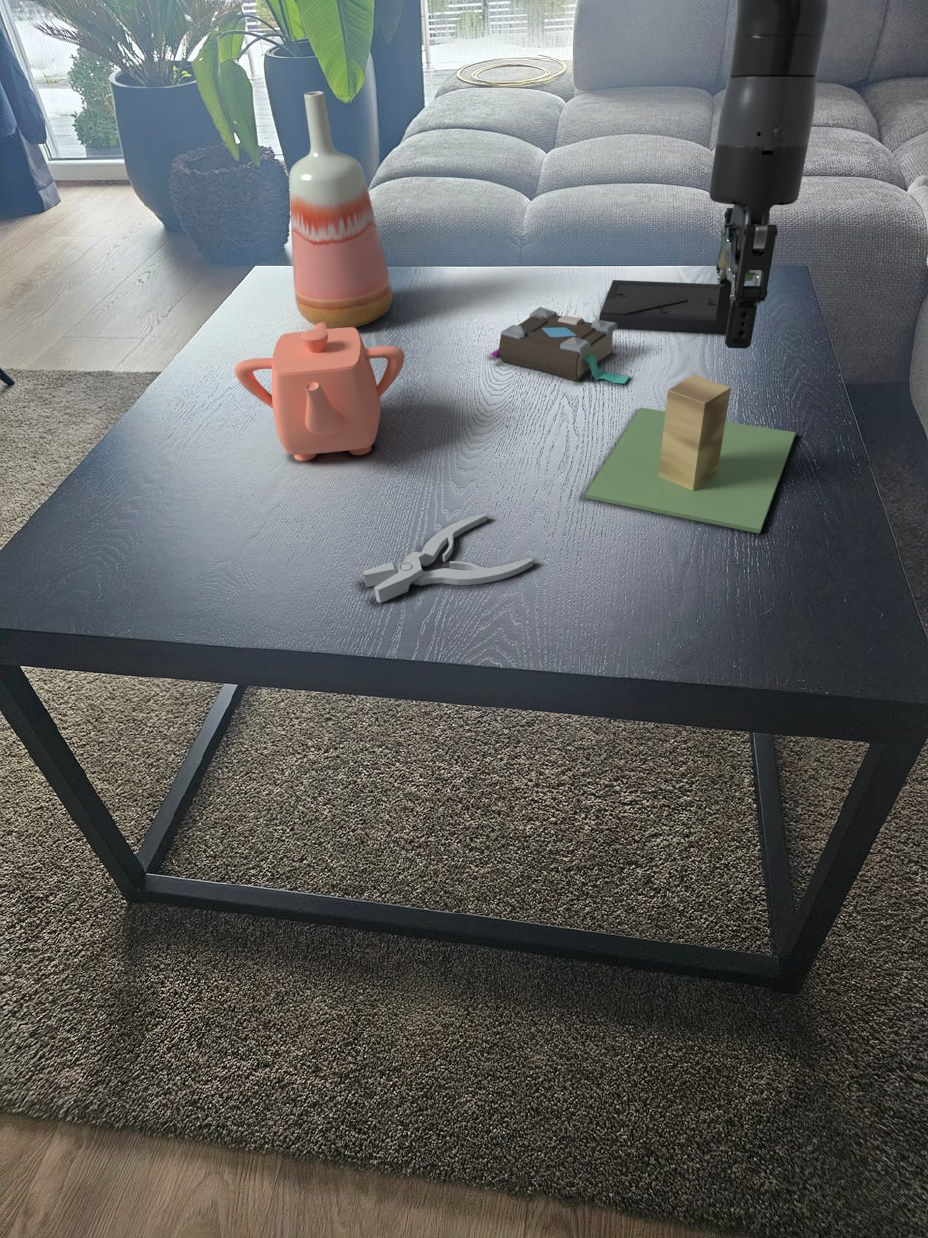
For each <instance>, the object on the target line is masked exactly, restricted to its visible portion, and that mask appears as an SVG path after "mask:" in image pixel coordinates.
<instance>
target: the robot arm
mask: <svg viewBox="0 0 928 1238" xmlns="http://www.w3.org/2000/svg"><path fill="white" fill-rule="evenodd" d="M735 9H736V10H735V24H734V32H733V41H732V48H731V55H730V63H729V70H728V78H727V81H726V87H725V91H724V95H723V98H722V102H721V108H720V112H719V118H718V119H719V120H718V127H717V135H716V140H715V141H716V142H715V150H714V157H713V163H712V171H711V177H710V186H709V192H708V193H709V199H710V200H711V201H712V202H715V203H719V204H723V205H732V206H733V207H726V210H725V212H724V215H723V217H724V221H723V225H722V229H721V242H720V248H719V252H718V260H717V264H716V267H715V271H716V274H717V277H716V280H717V284H723V286H719V291H718V298H717V305H716V312H715V319H714V322H715V324H716V325H717V326H719V327H727V330H726V334H725V337H724V344H725V346H726V347H727V348H728V349H748V348H749V347H750V346H751V344H752V340H753V334H754V328H755V322H756V317H757V311H758V306H760V305H761V303H762V302H765V301H766V299H767V297H768V286H769V281H770V274H771V268H772V262H773V256H774V250H775V244H776V238H777V236H778V233H779V230H778V226H777V224H770V218H771V217H770V216H771V214H770V213H771V212H770V211H771V209H772V208H773V207H774V206H787V205H791V204H795V203H796V201H797V200H798V199H799V196H800V191H801V186H802V179H803V175H804V170H805V164H806V159H807V153H808V147H809V143H810V136H811V132H812V131H811V130H812V126H813V120H814V115H815V107H816V92H817V82H818V78H817V77H818V75H819V70H820V64H821V59H822V53H823V49H824V43H825V37H826V31H827V26H828V19H829V15H830V14H829V13H830V1H829V0H736V7H735ZM746 282H753V285H745V284H746Z"/></svg>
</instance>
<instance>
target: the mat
mask: <svg viewBox="0 0 928 1238" xmlns="http://www.w3.org/2000/svg"><path fill="white" fill-rule="evenodd" d="M665 412H666V410H659V409H653V408H647V407H640V408H639V410H638V411H637V413H636V414H635V416H634V417H633V419H632V420H631V422H630V424H629V425H628V427H627V428H626V430H625V432H624V433H623V434H622V436H621V438H620V439H619V441H618V442H617V444H616V446H615V447H614V449H613V450H612V452H611V453H610V455H609V456H608V458H607V460H606V461H605V462H604V465H603V466H602V467H601V469H600V471H599V472H598V474H597V475H596V476H595V478H594V480H593V482H592V483H591V485H590V486H589V488H588V490H587V491H586V492H585V496H584V497H585V499H587V500H592V501H597V502H603V503H607V504H611V505H618V506H622V507H627V508H632V509H637V510H642V511H645V512H651V513H656V514H662V515H666V516H671V517H675V518H681V519H685V520H691V521H694V522H695V521H696V522H701V523H704V524H711V525H715V526H720V527H725V528H730V529H734V530H739V531H744V532H749V533H753V534H759V535H760V534H761V532H762V530H763V527H764V524H765V521H766V518H767V516H768V514H769V510H770V507H771V505H772V502H773V499H774V497H775V494H776V491H777V488H778V485H779V483H780V480H781V476H782V474H783V472H784V468H785V465H786V463H787V460H788V457H789V454H790V452H791V449H792V446H793V444H794V441H795V438H796V434H797V433H796V432H795V431H789V430H784V429H777V428H771V427H766V426H765V427H764V426H758V425H753V424H745V423H741V422H733V421H727V420H726V421H725V428H724V434H723V440H722V446H721V452H720V459H719V465H718V471H717V474H716V475H715V476H714V477H712V478H711V479H709V480H708V481H706V482H705V483H704V484H702V485H701V486H699V487H698V488H696V489H695V490H694V491H692V490H689V489H687V488H685V487H682V486H680V485H678V484H675V483H673V482H671V481H668V480H666V479H664V478H662V477H659V467H660V458H661V449H662V439H663V430H664V421H665Z"/></svg>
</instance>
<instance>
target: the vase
mask: <svg viewBox="0 0 928 1238" xmlns="http://www.w3.org/2000/svg"><path fill="white" fill-rule="evenodd" d="M303 97H304V104H305V113H306V119H307V126H308V135H309V142H310V149H309V153H308V154H307V155H306V156H304V157H302V158H301V159H299V160H298V161H296V162H295V163H294V164H293V165H292V166H291V169H290V171H289V176H288V188H289V210H290V211H289V212H290V213H289V214H290V233H291V251H292V252H291V253H292V254H291V255H292V274H293V275H292V276H293V291H294V300H295V304H296V307H297V310H298V312H299V314H300V315H301V316H302V318H304V319H305V320H306V321H308V322H309V323H310V324H312V325H314V326H315V325H316V324H318V323H326V324H328V325H329V328H330V329H333V328H347V327H353V328H355V329H356V328H359V327H362V326H363V327H364V326H366V325H369V324H371V323H373V322H375V321H377V320H378V319H380V318H381V317H382V316H383V315H385V313H387V311H388V310H389V308H390V307H391V304H392V301H393V288H392V283H391V277H390V273H389V269H388V265H387V260H386V256H385V253H384V249H383V244H382V240H381V236H380V233H379V229H378V225H377V221H376V217H375V212H374V209H373V205H372V200H371V197H370V191H369V188H368V185H367V184H368V183H367V180H366V176H365V172H364V169H363V167H362V165H361V163H360V162H359V161H358V160H357V159H356V158H355V157H352V156H351V155H348V154H345V153H344V152H339V151H338V150H337V149H336V148H335V146H334V144H333V139H332V133H331V126H330V120H329V114H328V108H327V102H326V96H325V92H324V91H319V90H315V91H309V92H305V93H304V95H303Z"/></svg>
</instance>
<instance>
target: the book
mask: <svg viewBox="0 0 928 1238" xmlns="http://www.w3.org/2000/svg"><path fill="white" fill-rule="evenodd" d="M616 330H617V323H615V322H608V321H601V320H599V319H596V320H592V322H588V321H585V320H584V318H583V317H576V316H571V315H570V316H569V315H565V314H564V315H558V312H557V311H554V310H552V309H548V308H545V307H542V306H539V307H537V308H536V309H535V310H533V311H532V312H530V313H529V317H528V318H526V319H525V320H523V321H522V322H521V323H519V324H517V325H516V324H511V325H510V326H508V327H507V328H504V329H503V330H502V331H501V332H500V338H499V345H498V349H497V350H494V351H492V352H491V353H490V355H491V356H493V358H497V357H499V358H500V360H501V362H502V363H505V364H509V365H513V366H517V367H518V366H519V367H522V368H528V369H532V370H536V371H540V372H544V373H547V374H550V375H553V376H557V377H560V378H563V379H565V380H569V381H572V382H576V383H579V382H580V381H581V380H583V378H584V377H586V376H587V375H588V374H589V373H590V372H591V375H592V376H593V378H594V380H595V381H597V380H599V379H603V380H606V381H608V382H610V383H613V384H626V382H627V381H628V379H629V378H630V376H628V375H627V376H626V375H618V374H615V373H613V372H610V371H605V370H604V372H601V371H600V369H599V365H600V364H601V363H603V362H604V361H606V360H608V359H609V358H611V357H612V356H613V355H614V350H613V343H614V342H613V335H614V332H615V331H616Z"/></svg>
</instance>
